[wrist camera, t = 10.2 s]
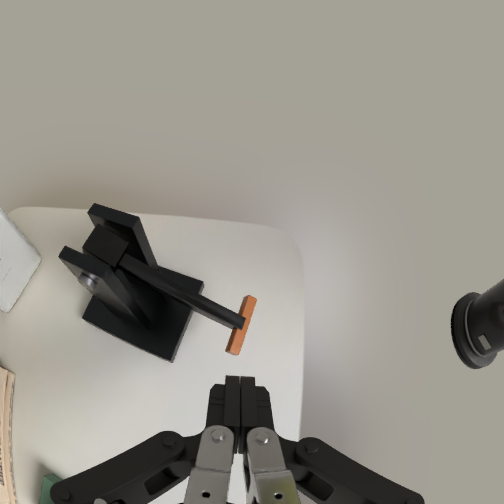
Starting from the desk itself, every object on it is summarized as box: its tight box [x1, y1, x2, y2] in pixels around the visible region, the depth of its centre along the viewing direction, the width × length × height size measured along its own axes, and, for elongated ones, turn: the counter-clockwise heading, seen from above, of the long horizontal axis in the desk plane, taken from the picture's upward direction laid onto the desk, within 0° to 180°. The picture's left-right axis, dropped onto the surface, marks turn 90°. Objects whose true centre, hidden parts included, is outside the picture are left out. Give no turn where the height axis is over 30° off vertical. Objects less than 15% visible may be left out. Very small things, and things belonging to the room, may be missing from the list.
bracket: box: [58, 203, 204, 363], centre depth 22 cm, size 11×9×13 cm
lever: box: [82, 223, 257, 355], centre depth 19 cm, size 14×5×2 cm, turn 74°
